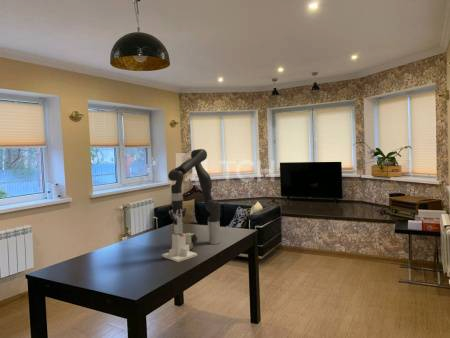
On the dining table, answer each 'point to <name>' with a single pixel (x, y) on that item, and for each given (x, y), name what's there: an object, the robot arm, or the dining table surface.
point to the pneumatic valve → (190, 239)
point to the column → (178, 226)
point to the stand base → (179, 249)
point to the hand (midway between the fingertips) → (178, 223)
